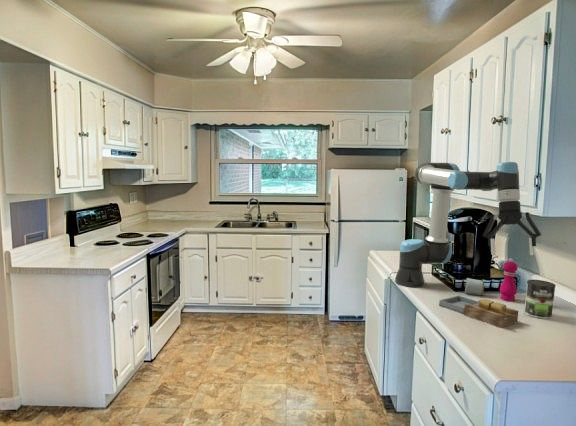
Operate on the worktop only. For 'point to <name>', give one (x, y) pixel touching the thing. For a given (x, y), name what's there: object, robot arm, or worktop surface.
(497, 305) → the yellow cube
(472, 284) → the ceramic mug
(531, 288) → the coffee can
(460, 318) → the worktop surface
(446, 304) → the tray
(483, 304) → the tan cube
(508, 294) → the pepper mill
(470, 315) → the channel bar
